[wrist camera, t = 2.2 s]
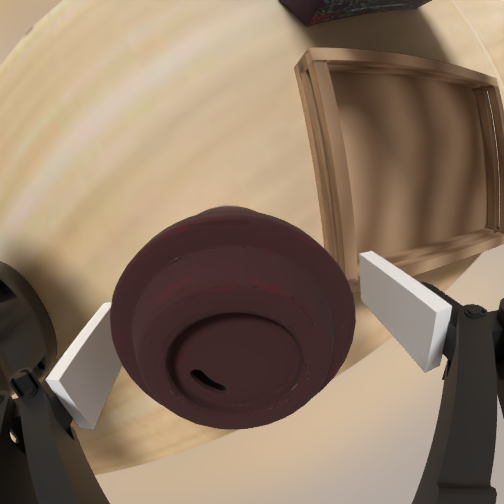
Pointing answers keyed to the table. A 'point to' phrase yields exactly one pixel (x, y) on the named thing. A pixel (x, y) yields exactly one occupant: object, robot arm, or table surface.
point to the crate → (403, 157)
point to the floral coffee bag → (344, 8)
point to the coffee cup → (232, 318)
